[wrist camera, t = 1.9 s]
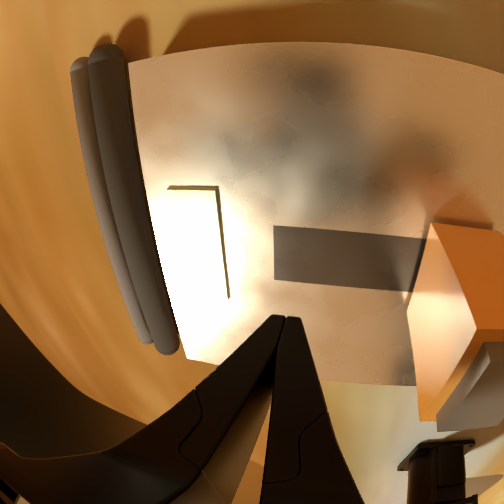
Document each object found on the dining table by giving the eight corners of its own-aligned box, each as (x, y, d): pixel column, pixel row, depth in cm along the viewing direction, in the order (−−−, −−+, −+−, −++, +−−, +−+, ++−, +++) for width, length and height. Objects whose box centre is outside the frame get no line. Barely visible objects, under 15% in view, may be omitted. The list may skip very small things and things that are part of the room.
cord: (185, 344, 20) (176, 362, 18) (146, 335, 20) (135, 352, 19) (130, 39, 10) (107, 39, 9) (81, 55, 11) (57, 58, 10)
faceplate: (546, 355, 13) (555, 378, 11) (199, 334, 19) (186, 360, 17) (628, 141, 5) (652, 155, 3) (155, 61, 11) (125, 63, 9)
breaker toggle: (468, 315, 11) (499, 430, 6) (406, 312, 12) (420, 438, 7) (500, 231, 9) (570, 345, 4) (430, 222, 9) (483, 349, 5)
